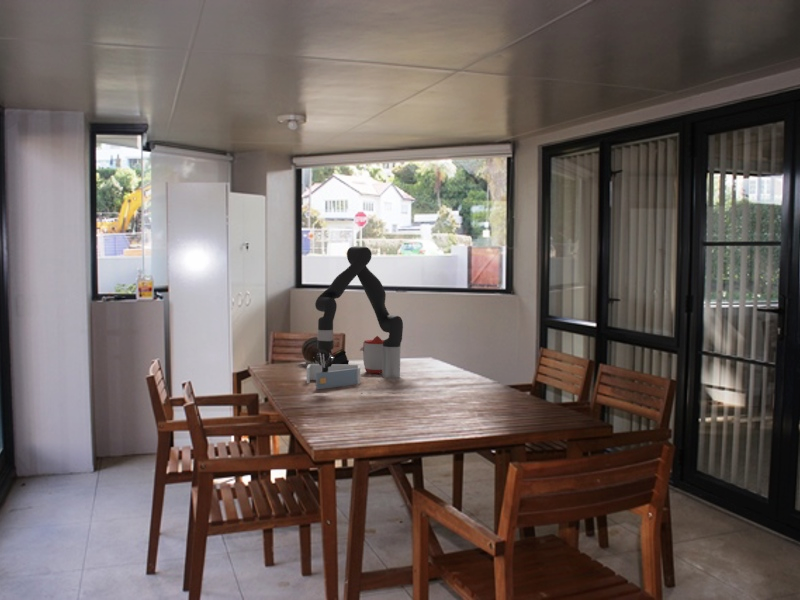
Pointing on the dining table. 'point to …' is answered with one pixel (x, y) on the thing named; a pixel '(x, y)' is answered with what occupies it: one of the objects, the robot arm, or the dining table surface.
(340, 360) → the black ridged battery pack
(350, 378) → the door
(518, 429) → the dining table surface
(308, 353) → the clay pot
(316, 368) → the case
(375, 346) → the citrus juicer
